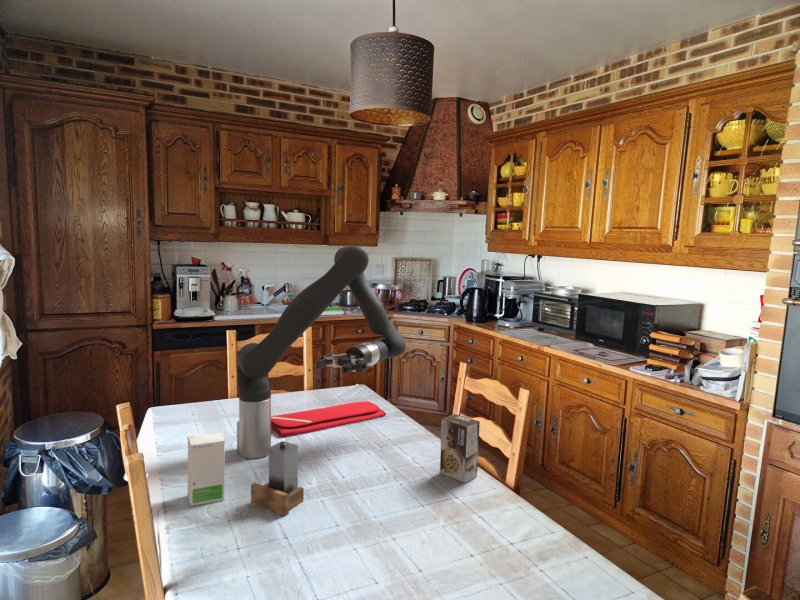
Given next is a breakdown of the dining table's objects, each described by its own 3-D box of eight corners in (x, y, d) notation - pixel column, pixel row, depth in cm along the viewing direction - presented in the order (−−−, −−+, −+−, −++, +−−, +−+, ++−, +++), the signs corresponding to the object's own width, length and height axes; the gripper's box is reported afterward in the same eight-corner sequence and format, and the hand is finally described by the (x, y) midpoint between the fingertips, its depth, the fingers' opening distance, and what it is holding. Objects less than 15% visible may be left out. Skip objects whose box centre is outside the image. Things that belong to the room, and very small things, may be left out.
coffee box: (478, 476, 145) (481, 421, 143) (464, 483, 141) (467, 427, 139) (452, 465, 152) (454, 412, 150) (438, 472, 147) (440, 418, 145)
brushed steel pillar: (268, 501, 128) (268, 444, 127) (282, 493, 133) (282, 437, 131) (284, 507, 126) (284, 449, 124) (297, 498, 130) (297, 442, 129)
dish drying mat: (386, 417, 191) (387, 407, 191) (282, 440, 168) (282, 429, 167) (364, 405, 204) (364, 396, 203) (264, 425, 180) (264, 414, 180)
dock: (251, 503, 127) (250, 484, 127) (272, 490, 134) (272, 472, 133) (285, 516, 122) (285, 496, 121) (305, 502, 129) (306, 483, 128)
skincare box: (189, 507, 125) (188, 445, 123) (187, 494, 131) (185, 435, 129) (226, 499, 129) (225, 440, 127) (221, 488, 134) (221, 430, 132)
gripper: (343, 341, 159) (309, 350, 145) (382, 347, 152) (351, 357, 138) (342, 364, 160) (309, 376, 146) (382, 372, 153) (351, 385, 139)
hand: (330, 367), depth 142 cm, fingers open, 8 cm apart
